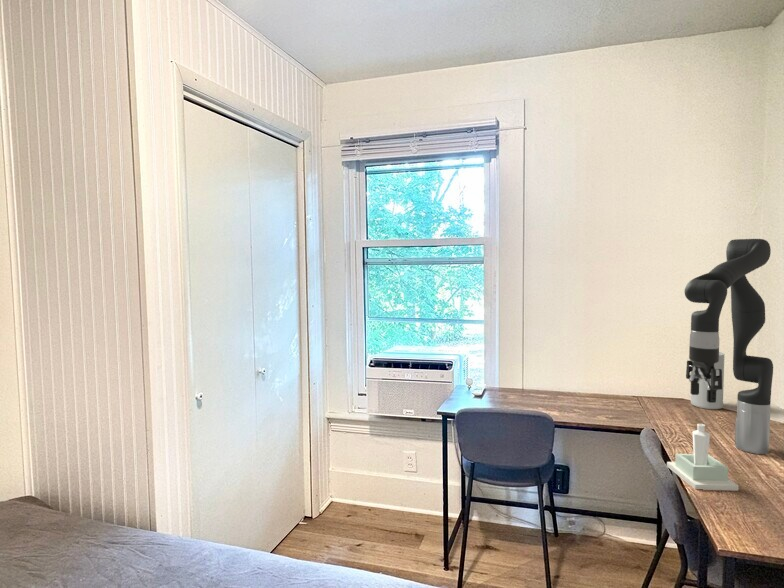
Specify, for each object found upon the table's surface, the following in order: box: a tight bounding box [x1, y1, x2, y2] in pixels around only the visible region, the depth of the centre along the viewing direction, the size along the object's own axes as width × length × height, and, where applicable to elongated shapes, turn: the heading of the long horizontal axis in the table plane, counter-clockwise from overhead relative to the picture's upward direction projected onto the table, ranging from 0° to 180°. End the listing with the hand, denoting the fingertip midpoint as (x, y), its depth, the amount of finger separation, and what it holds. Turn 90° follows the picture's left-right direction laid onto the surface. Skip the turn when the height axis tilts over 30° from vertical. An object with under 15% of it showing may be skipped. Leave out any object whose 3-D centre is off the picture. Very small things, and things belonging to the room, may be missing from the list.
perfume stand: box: [666, 453, 740, 492], centre depth 143 cm, size 16×12×6 cm
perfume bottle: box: [692, 423, 711, 465], centre depth 143 cm, size 5×4×15 cm
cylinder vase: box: [690, 351, 725, 410], centre depth 215 cm, size 12×12×25 cm
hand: (702, 398), depth 142 cm, fingers open, 8 cm apart
